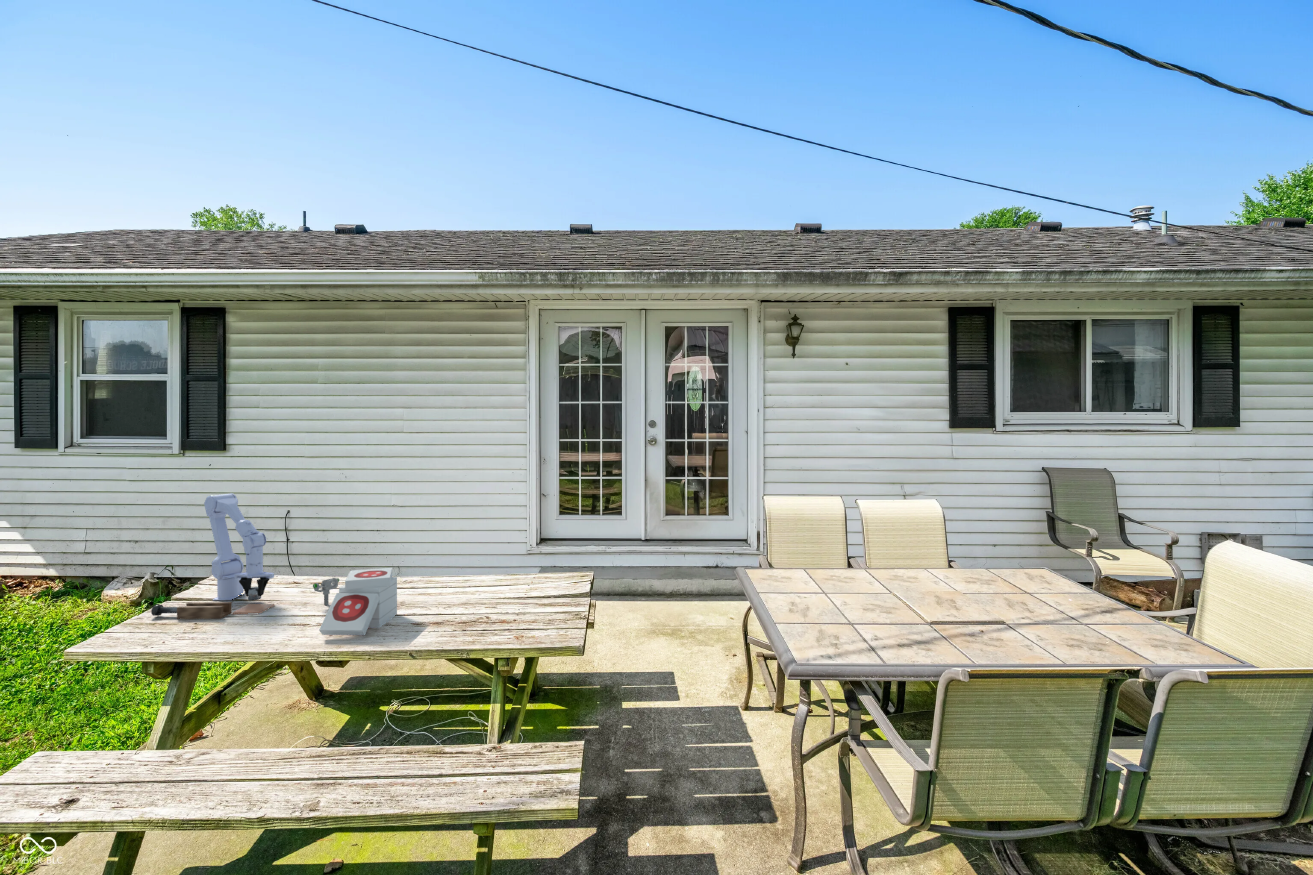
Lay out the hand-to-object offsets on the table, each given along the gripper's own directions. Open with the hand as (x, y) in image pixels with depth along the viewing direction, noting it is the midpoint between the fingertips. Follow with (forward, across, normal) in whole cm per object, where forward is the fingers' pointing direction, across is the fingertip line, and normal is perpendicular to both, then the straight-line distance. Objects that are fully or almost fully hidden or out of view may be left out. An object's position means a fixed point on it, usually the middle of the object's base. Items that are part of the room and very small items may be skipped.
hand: (254, 595), depth 241 cm
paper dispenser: (+3, +55, -28) cm, 62 cm away
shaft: (+3, -17, -16) cm, 23 cm away
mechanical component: (+3, +30, -3) cm, 30 cm away
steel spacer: (+1, 0, 0) cm, 1 cm away
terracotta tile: (+3, +5, -9) cm, 11 cm away
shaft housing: (+3, -9, -16) cm, 19 cm away
